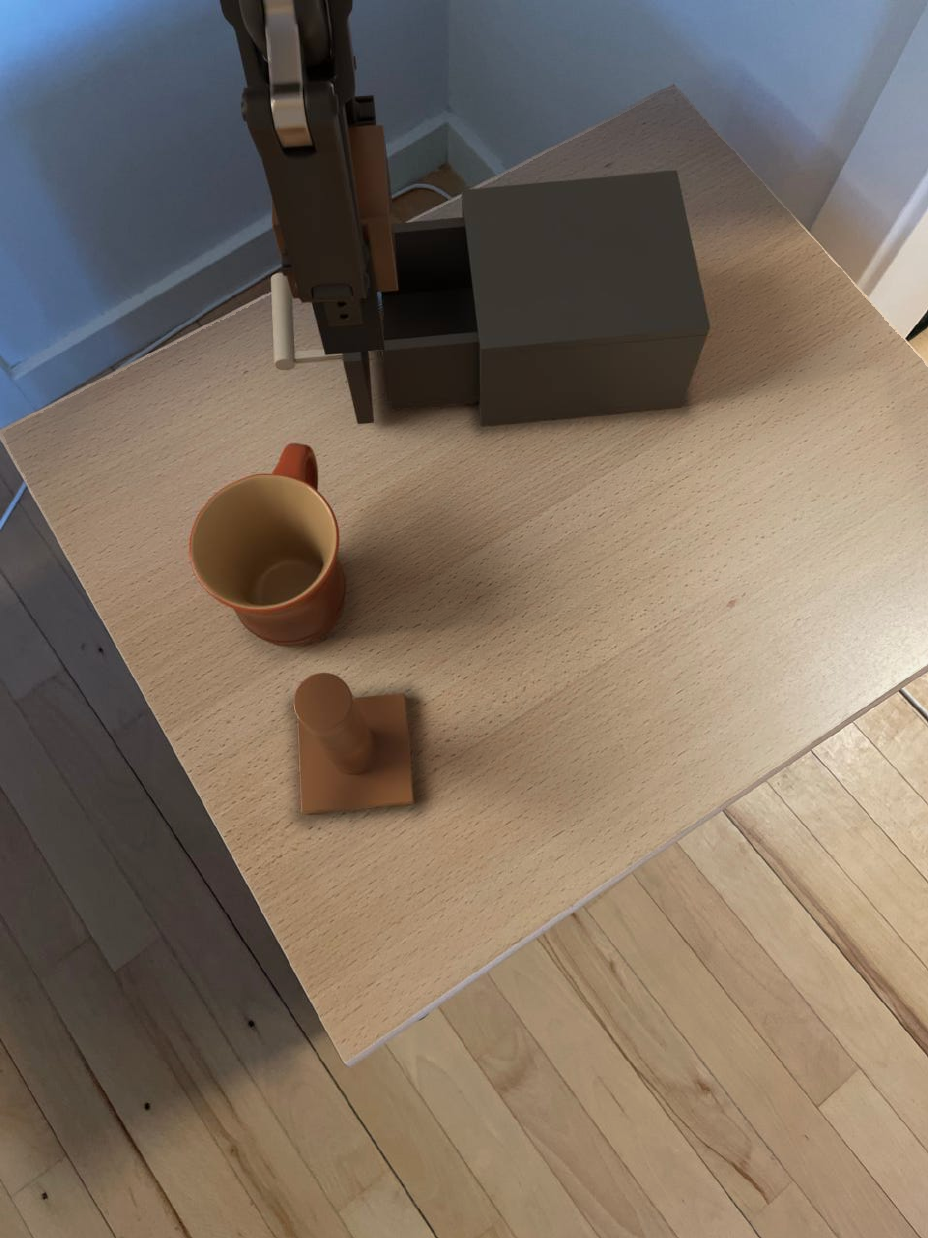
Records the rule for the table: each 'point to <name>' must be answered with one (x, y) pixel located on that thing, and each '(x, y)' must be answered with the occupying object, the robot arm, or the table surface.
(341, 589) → the mug
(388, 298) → the drawer
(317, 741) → the post
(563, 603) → the table surface
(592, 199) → the cabinet
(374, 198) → the block
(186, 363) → the table surface
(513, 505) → the table surface
